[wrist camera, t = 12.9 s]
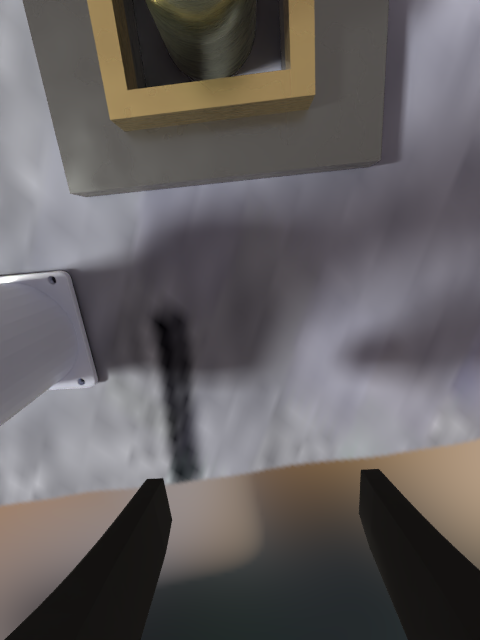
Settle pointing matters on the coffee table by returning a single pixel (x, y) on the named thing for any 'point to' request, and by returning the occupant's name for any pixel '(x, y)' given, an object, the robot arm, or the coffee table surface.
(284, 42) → the square peg board
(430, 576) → the robot arm
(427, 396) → the coffee table surface
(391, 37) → the coffee table surface
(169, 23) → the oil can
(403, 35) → the coffee table surface
